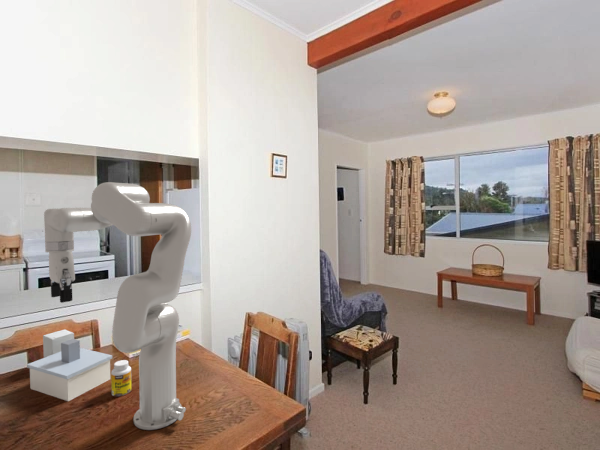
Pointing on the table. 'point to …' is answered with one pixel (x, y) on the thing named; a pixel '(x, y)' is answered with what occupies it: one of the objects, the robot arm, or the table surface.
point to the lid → (69, 360)
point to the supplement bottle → (121, 378)
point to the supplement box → (55, 341)
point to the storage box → (70, 382)
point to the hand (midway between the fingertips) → (61, 299)
